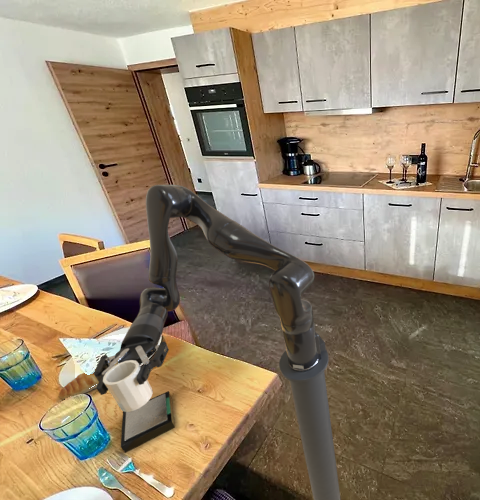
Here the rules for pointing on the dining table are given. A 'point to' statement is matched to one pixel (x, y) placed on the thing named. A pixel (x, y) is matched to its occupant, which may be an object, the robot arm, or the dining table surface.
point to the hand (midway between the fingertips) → (121, 386)
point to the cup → (127, 386)
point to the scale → (147, 422)
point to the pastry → (79, 385)
